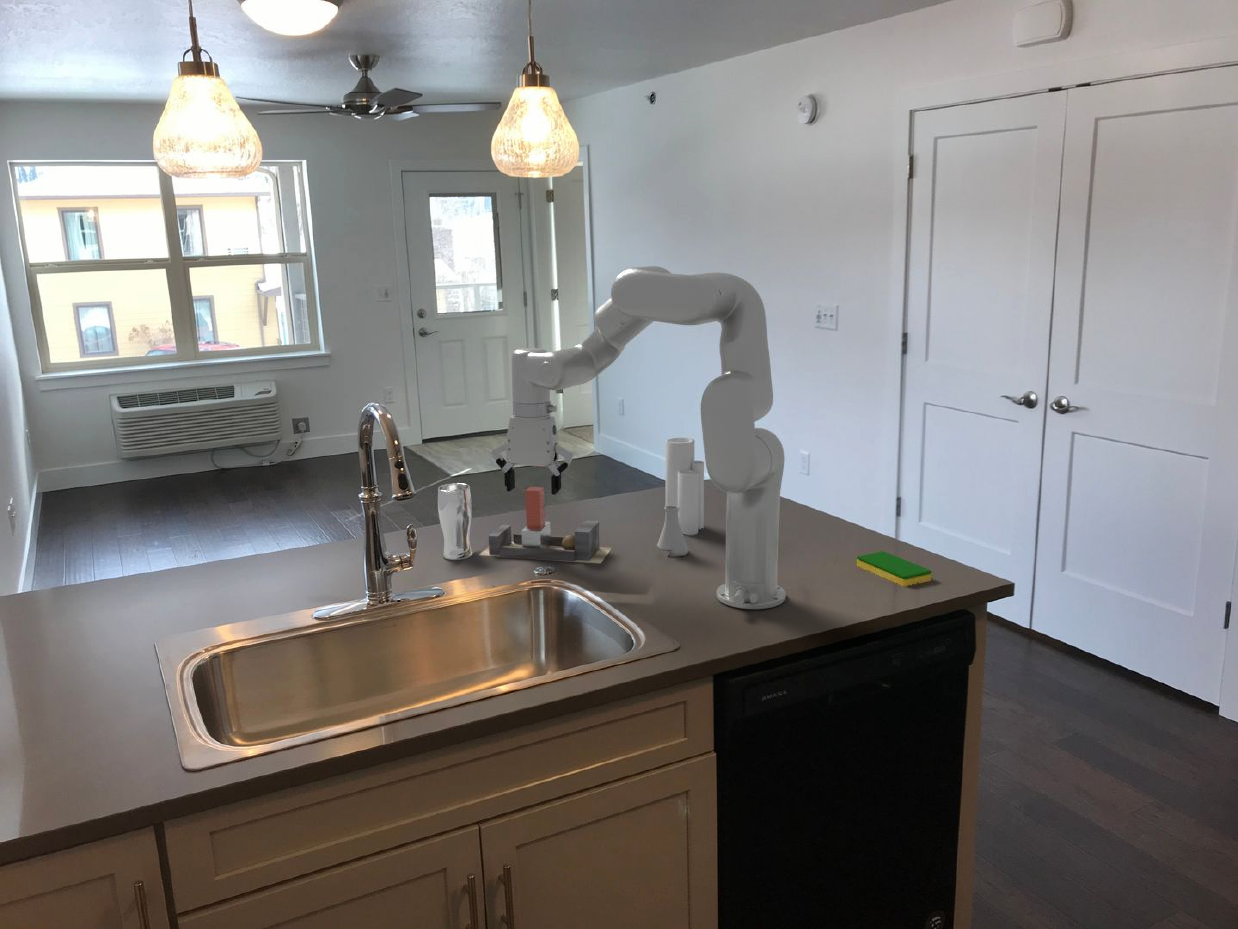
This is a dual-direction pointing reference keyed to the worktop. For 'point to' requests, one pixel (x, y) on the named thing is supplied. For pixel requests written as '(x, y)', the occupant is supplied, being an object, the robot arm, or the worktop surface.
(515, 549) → the cracker board
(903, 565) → the dish sponge
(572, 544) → the walnut
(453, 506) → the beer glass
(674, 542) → the flask
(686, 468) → the vase
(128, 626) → the worktop surface
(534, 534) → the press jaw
